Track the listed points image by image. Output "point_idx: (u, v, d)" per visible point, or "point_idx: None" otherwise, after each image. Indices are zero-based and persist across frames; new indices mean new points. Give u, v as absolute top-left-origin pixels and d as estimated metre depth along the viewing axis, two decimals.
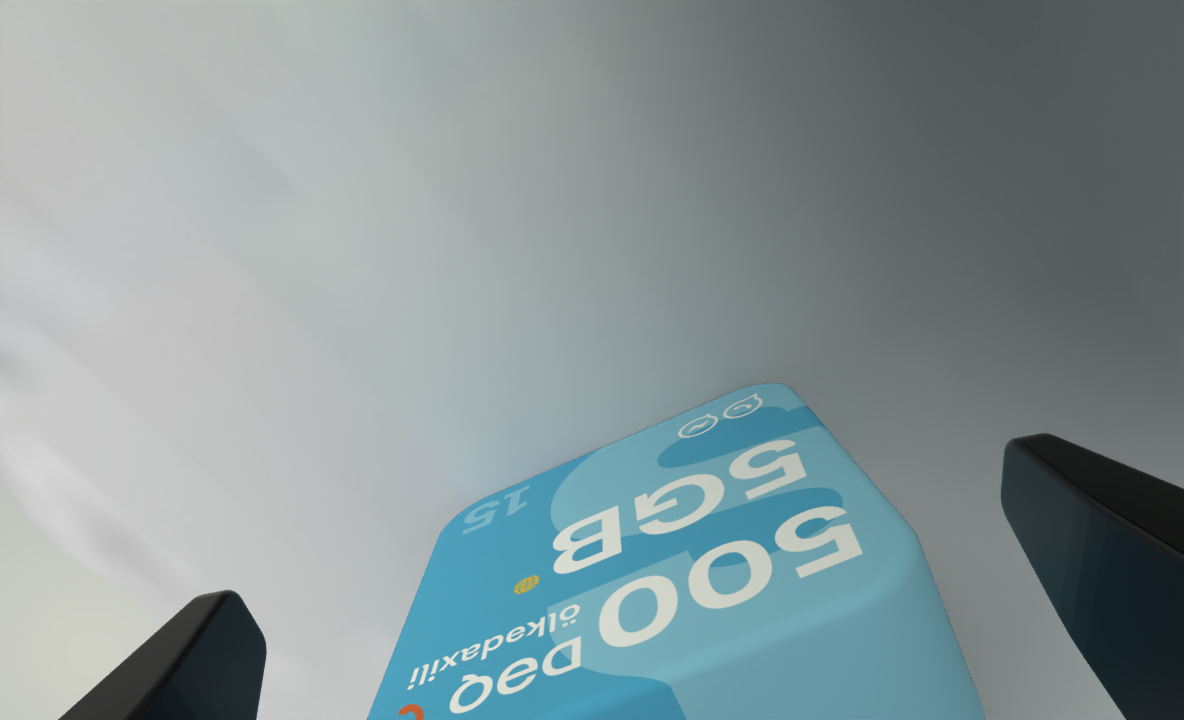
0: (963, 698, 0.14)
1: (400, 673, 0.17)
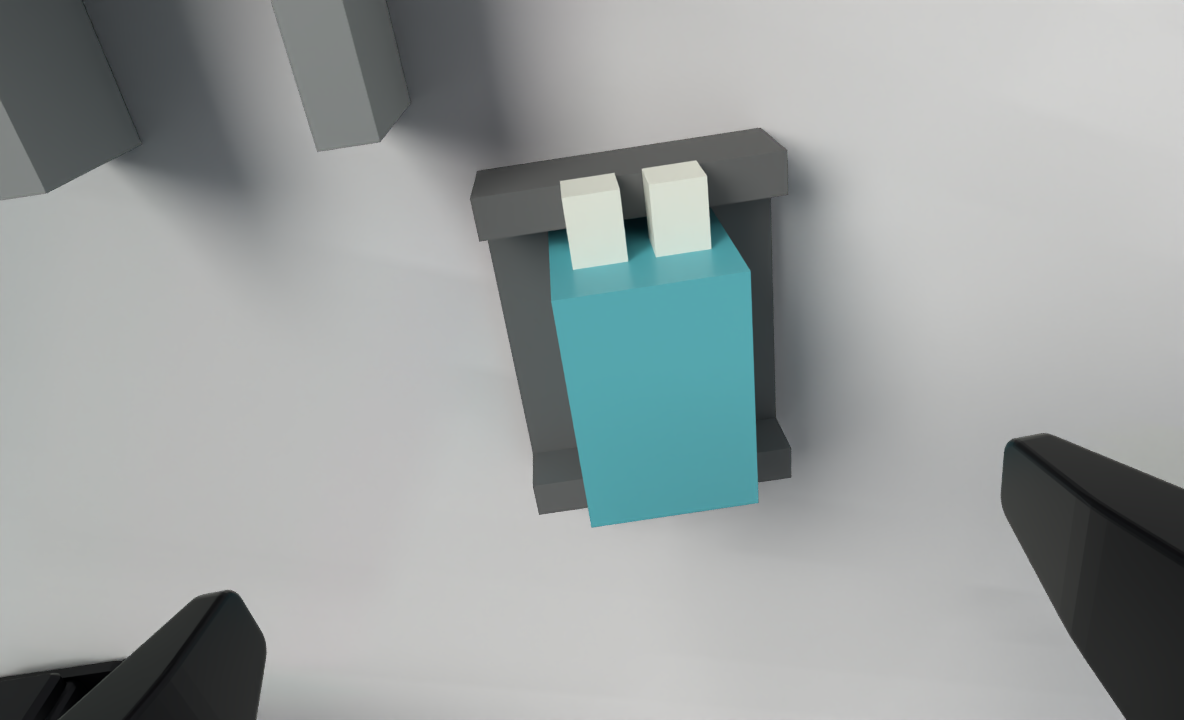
0: None
1: None
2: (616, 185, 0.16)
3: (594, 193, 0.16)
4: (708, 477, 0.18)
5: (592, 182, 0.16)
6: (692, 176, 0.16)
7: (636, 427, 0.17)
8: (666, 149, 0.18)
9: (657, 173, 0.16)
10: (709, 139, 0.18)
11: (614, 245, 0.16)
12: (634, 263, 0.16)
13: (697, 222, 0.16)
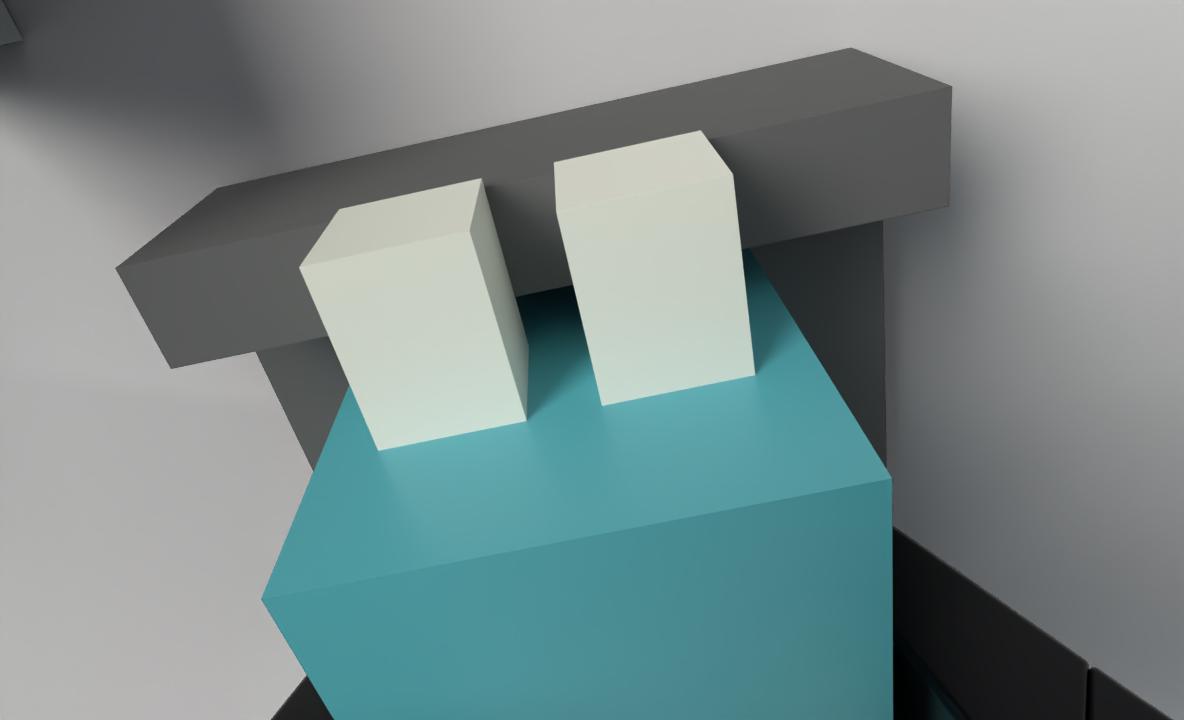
0: None
1: None
2: (467, 217, 0.05)
3: (396, 247, 0.05)
4: None
5: (412, 210, 0.06)
6: (688, 178, 0.05)
7: None
8: (632, 110, 0.08)
9: (589, 172, 0.06)
10: (734, 82, 0.08)
11: (481, 383, 0.06)
12: (542, 429, 0.06)
13: (711, 309, 0.06)
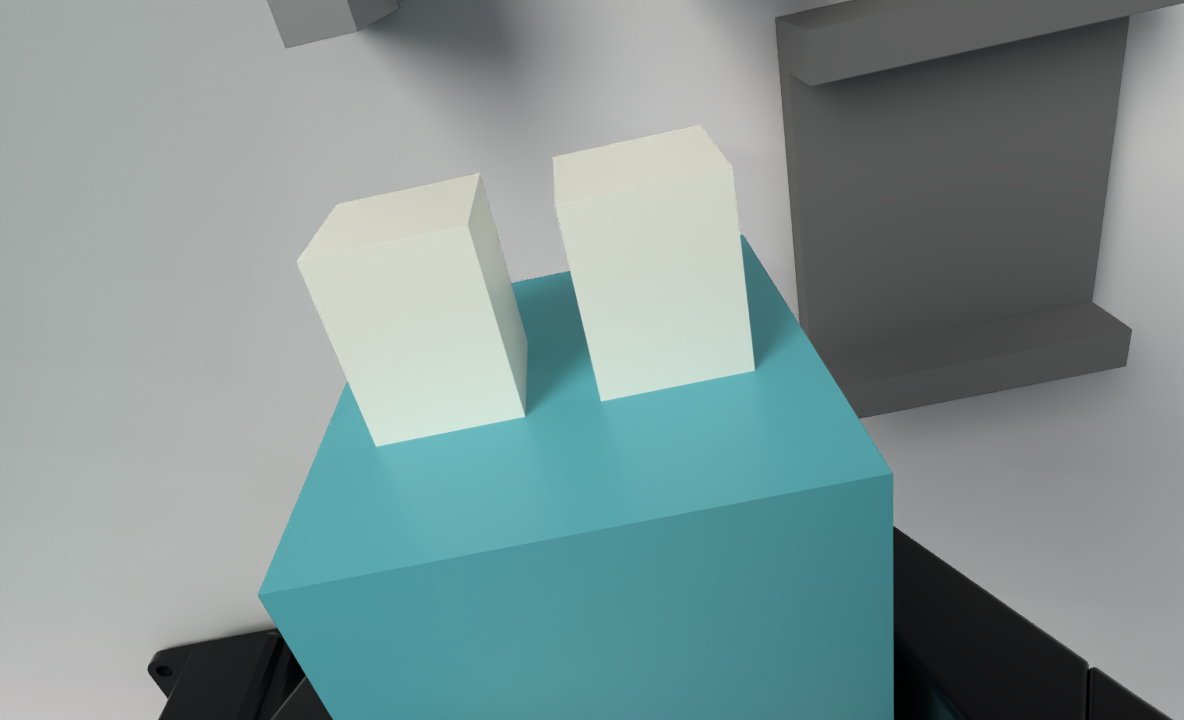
0: None
1: None
2: (465, 211, 0.05)
3: (393, 241, 0.05)
4: None
5: (410, 204, 0.06)
6: (688, 171, 0.05)
7: None
8: None
9: (587, 167, 0.06)
10: None
11: (480, 378, 0.06)
12: (540, 424, 0.06)
13: (711, 304, 0.06)
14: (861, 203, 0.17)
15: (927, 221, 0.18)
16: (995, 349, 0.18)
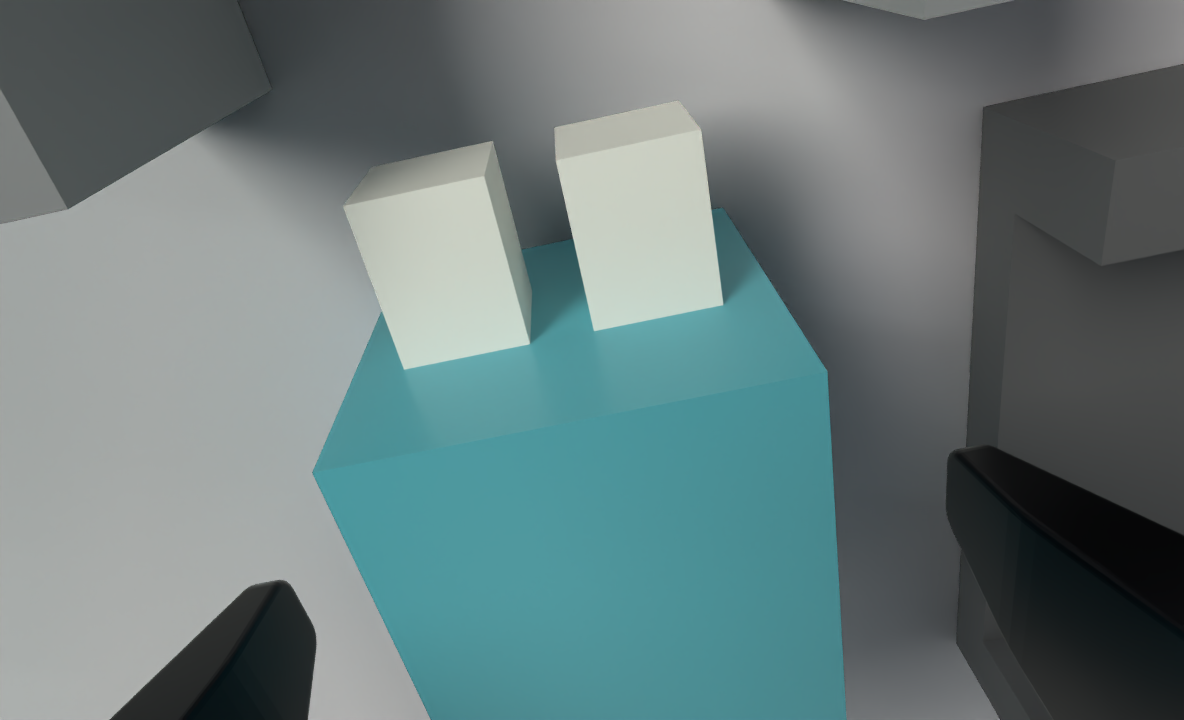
0: None
1: None
2: (482, 167, 0.07)
3: (423, 189, 0.06)
4: None
5: (434, 164, 0.07)
6: (665, 133, 0.06)
7: (574, 711, 0.07)
8: None
9: (584, 133, 0.07)
10: None
11: (492, 310, 0.07)
12: (543, 350, 0.07)
13: (685, 245, 0.07)
14: (1107, 423, 0.10)
15: None
16: None
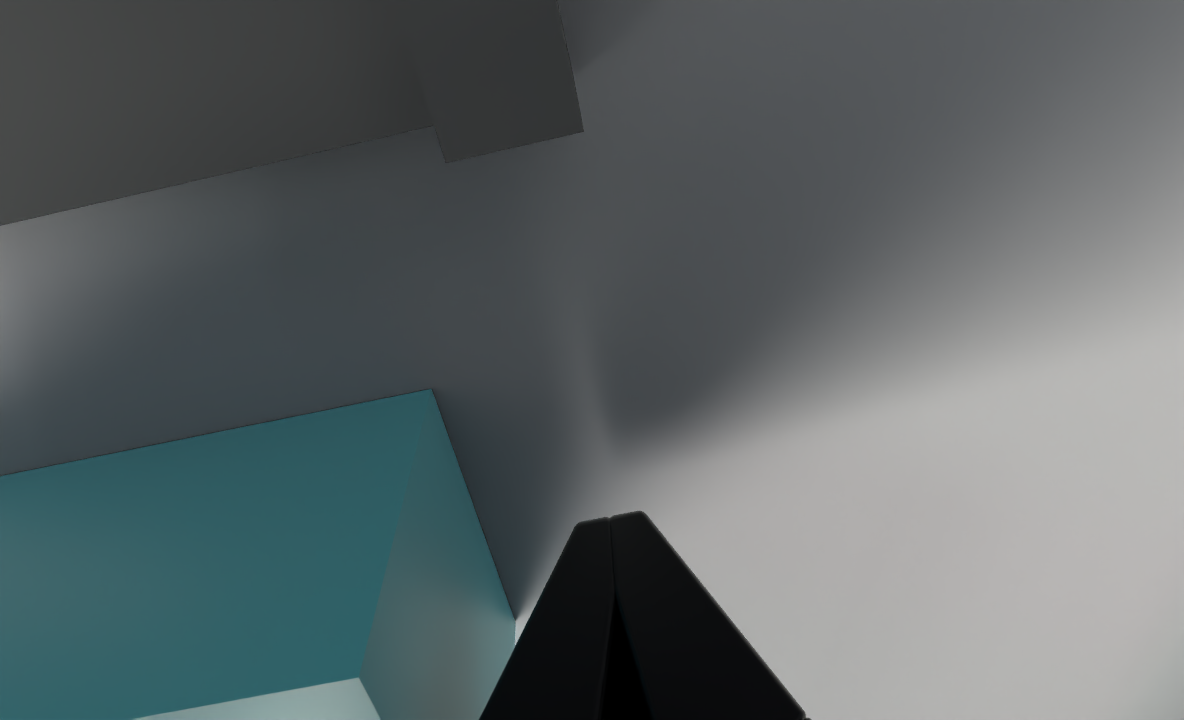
0: None
1: None
2: None
3: None
4: None
5: None
6: None
7: None
8: None
9: None
10: None
11: None
12: None
13: None
14: None
15: None
16: None
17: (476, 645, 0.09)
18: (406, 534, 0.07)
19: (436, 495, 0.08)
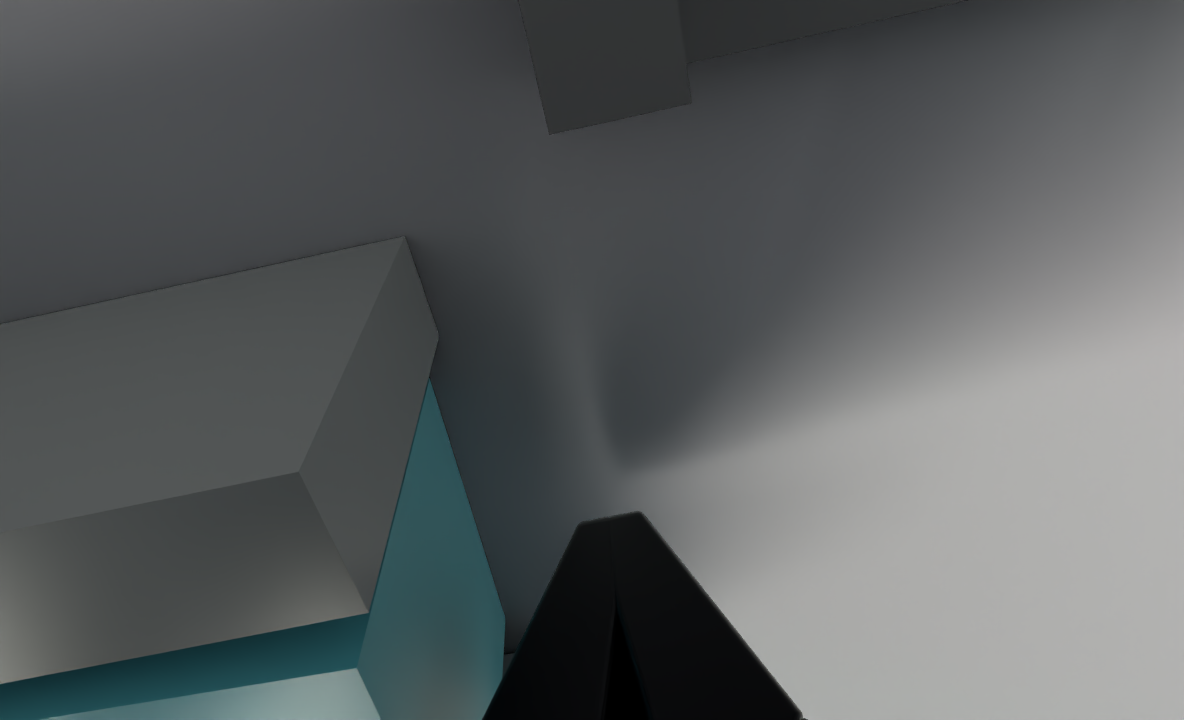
0: None
1: None
2: None
3: None
4: None
5: None
6: None
7: None
8: None
9: None
10: None
11: None
12: None
13: None
14: None
15: None
16: None
17: (468, 640, 0.09)
18: (403, 523, 0.07)
19: (432, 486, 0.08)
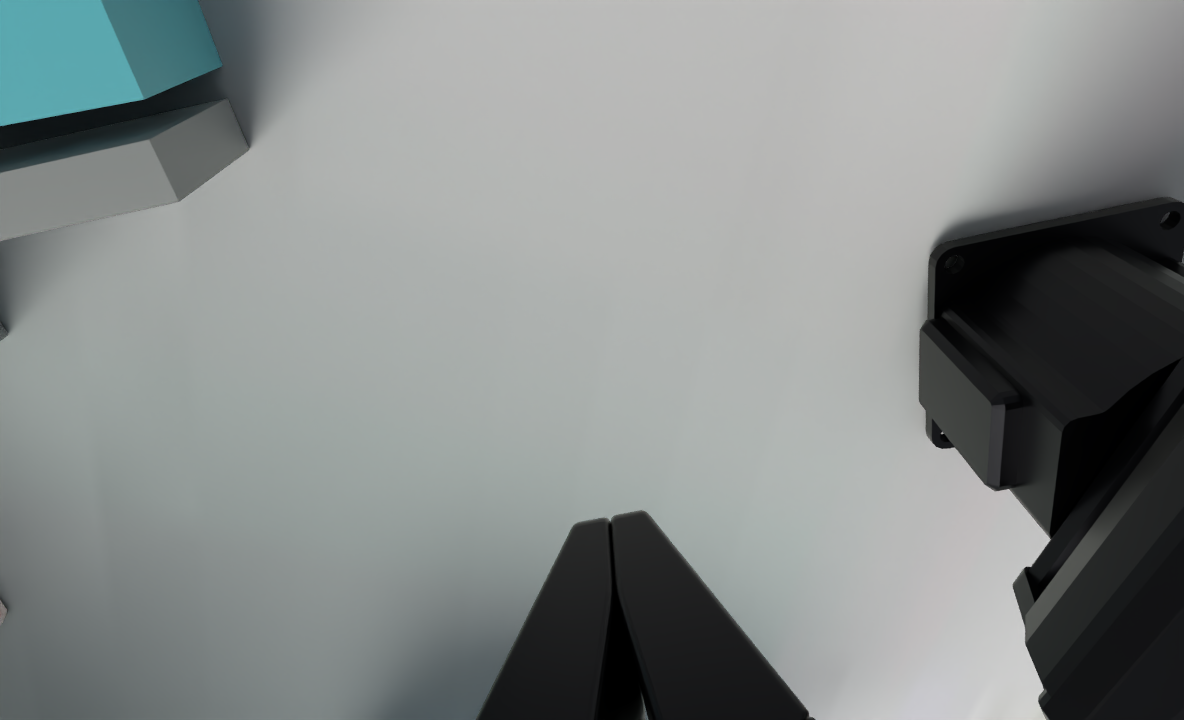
0: None
1: None
2: None
3: None
4: None
5: None
6: None
7: None
8: None
9: None
10: None
11: None
12: None
13: None
14: None
15: None
16: None
17: None
18: None
19: None
